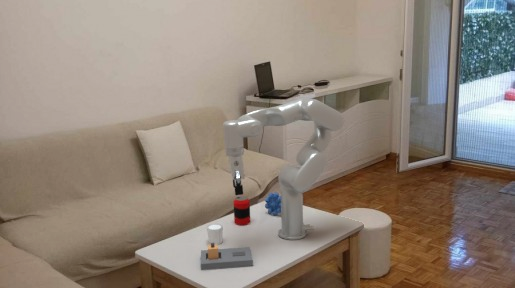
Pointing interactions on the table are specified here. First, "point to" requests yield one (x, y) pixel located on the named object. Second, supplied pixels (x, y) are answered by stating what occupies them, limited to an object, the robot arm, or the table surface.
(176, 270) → the table surface
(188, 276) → the table surface
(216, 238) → the white short cylinder
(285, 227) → the robot arm
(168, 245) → the table surface
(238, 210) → the soda can
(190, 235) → the table surface
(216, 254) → the block
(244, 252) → the socket plate
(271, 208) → the grapes
